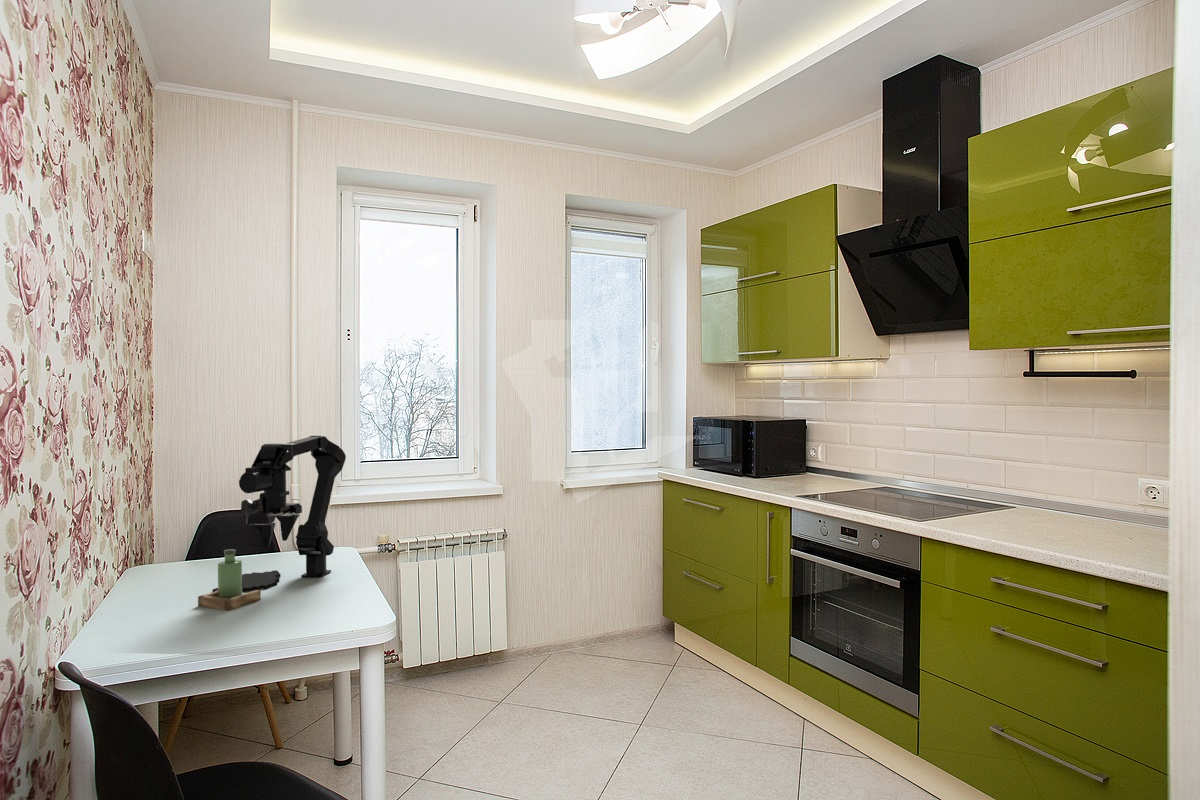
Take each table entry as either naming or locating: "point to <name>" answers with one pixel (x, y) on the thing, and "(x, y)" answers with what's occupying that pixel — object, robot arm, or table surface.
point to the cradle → (228, 600)
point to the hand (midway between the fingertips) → (275, 544)
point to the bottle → (229, 576)
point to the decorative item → (258, 581)
